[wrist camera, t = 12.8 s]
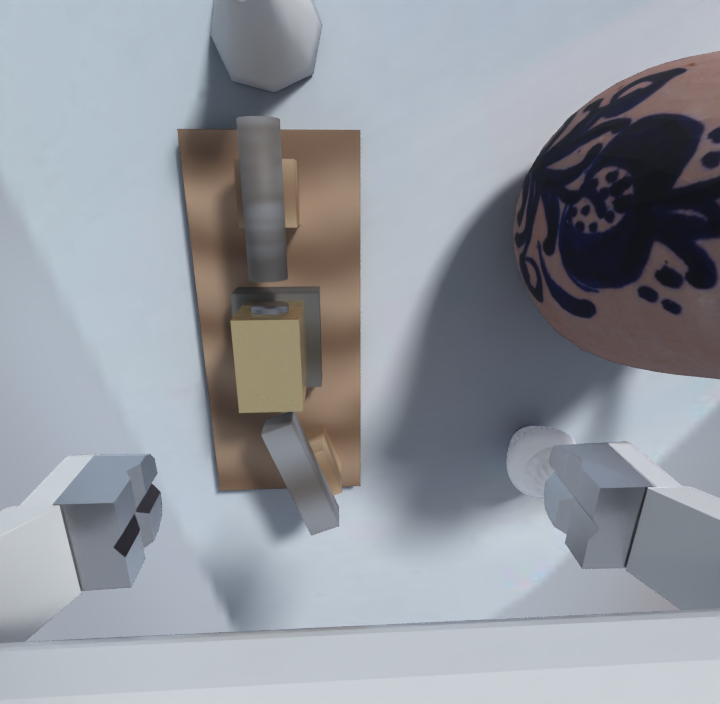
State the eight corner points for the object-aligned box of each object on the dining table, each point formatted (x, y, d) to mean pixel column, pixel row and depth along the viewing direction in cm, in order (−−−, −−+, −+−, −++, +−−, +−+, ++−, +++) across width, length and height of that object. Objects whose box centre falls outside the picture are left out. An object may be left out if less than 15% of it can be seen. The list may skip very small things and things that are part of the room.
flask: (221, 98, 32) (174, 60, 22) (199, -32, 29) (135, -137, 20) (328, 88, 32) (326, 46, 22) (315, -42, 29) (306, -151, 20)
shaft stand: (184, 131, 32) (140, 115, 25) (359, 132, 33) (366, 116, 25) (223, 480, 41) (200, 542, 34) (359, 476, 42) (364, 536, 35)
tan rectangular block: (245, 296, 32) (229, 315, 27) (303, 296, 32) (298, 314, 27) (252, 385, 34) (239, 417, 29) (307, 384, 34) (303, 415, 30)
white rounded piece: (517, 400, 40) (553, 441, 34) (575, 425, 41) (620, 471, 35) (480, 457, 42) (508, 507, 35) (537, 480, 43) (574, 533, 36)
